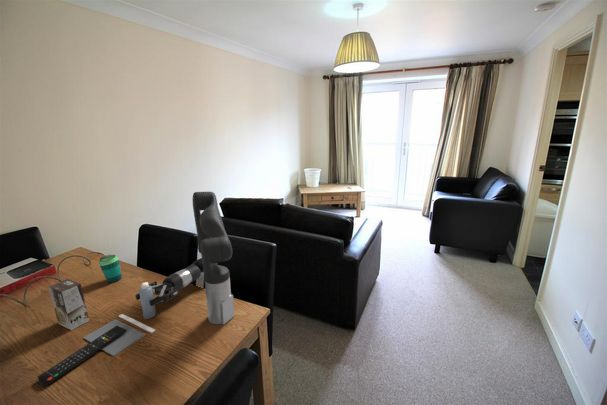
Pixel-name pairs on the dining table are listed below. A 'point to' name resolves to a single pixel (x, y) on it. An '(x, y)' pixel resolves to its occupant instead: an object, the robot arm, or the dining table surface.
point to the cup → (111, 268)
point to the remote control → (79, 356)
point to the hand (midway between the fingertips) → (143, 300)
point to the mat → (119, 342)
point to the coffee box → (69, 303)
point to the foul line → (136, 323)
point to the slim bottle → (147, 300)
